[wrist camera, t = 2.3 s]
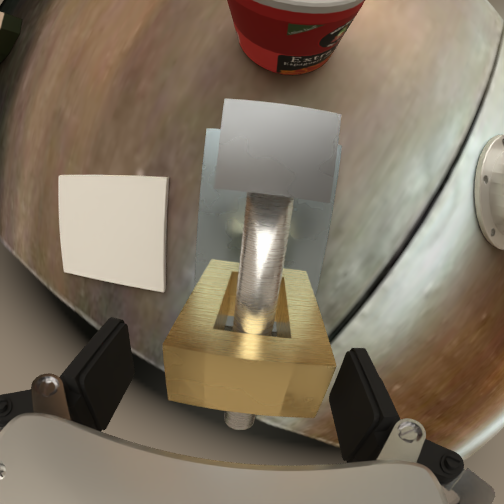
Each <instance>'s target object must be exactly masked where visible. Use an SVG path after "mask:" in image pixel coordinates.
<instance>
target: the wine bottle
mask: <svg viewBox="0 0 504 504" xmlns="http://www.w3.org/2000/svg"><path fill="white" fill-rule="evenodd" d="M21 24H22V19H19V18H17V17H14V16H11V15H8V14H5V13H2V12H0V63H1V62H2V61H3V60H4V58H5V57H6V56H7V55H8V54H9V52H10V51H11V49H12V47H13V45H14V43H15V41H16V40H17V38H18V36H19V34H20V29H21Z"/></svg>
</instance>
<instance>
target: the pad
mask: <svg viewBox="0 0 504 504" xmlns="http://www.w3.org/2000/svg"><path fill="white" fill-rule="evenodd" d="M168 190H169V177H154V176H129V175H60V176H59V225H60V239H61V250H62V259H63V268H64V272H67V273H71V274H75V275H80V276H84V277H88V278H93V279H98V280H102V281H107V282H112V283H117V284H122V285H127V286H132V287H137V288H142V289H148V290H153V291H159V292H165V290H166V230H167V206H168Z"/></svg>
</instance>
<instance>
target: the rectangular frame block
mask: <svg viewBox="0 0 504 504" xmlns="http://www.w3.org/2000/svg"><path fill="white" fill-rule="evenodd" d="M238 272H239V263H238V262H230V261H222V260H215V259H211V261H210V262H209V264H208V266H207V268H206V269H205V271H204V273H203V274H202V276H201V278H200V280H199V281H198V283H197V285H196V286H195V288H194V290H193V292H192V293H191V295H190V297H189V299H188V300H187V302H186V304H185V306H184V307H183V309H182V311H181V313H180V314H179V316H178V318H177V320H176V321H175V323H174V325H173V327H172V329H171V330H170V332H169V334H168V336H167V338H166V339H165V341H164V343H163V356H164V367H165V376H166V384H167V393H168V400H171V401H176V402H180V403H185V404H190V405H195V406H200V407H206V408H211V409H217V410H224V411H231V412H239V413H247V414H256V415H267V416H281V417H304V418H315V416H316V414H317V412H318V410H319V407H320V405H321V403H322V401H323V398H324V396H325V393H326V391H327V389H328V386H329V384H330V381H331V379H332V376H333V374H334V371H335V369H336V363H335V359H334V356H333V353H332V349H331V346H330V343H329V339H328V336H327V333H326V330H325V326H324V323H323V320H322V317H321V314H320V311H319V308H318V305H317V302H316V299H315V295H314V292H313V289H312V286H311V284H310V281H309V278H308V275H307V272H306V271H302V270H293V269H285V268H283V273H282V279H281V285H280V291H279V296H278V302H277V308H276V313H275V319H274V321H275V322H276V328H277V337H271V336H262V335H254V334H246V333H238V332H231V331H224V329H225V325H226V321H227V318H228V316H234V311H235V301H236V291H237V282H238Z"/></svg>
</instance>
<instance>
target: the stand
mask: <svg viewBox="0 0 504 504" xmlns="http://www.w3.org/2000/svg"><path fill="white" fill-rule="evenodd" d="M340 122H341V114H337V113H333V112H328V111H323V110H317V109H312V108H306V107H300V106H293V105H287V104H279V103H271V102H262V101H252V100H239V99H225V100H224V107H223V115H222V123H221V129H208V128H207V131H206V140H205V148H204V158H203V167H202V178H201V189H200V201H199V214H198V229H197V245H196V265H195V286H196V285H197V283H198V281H199V280H200V278H201V276H202V274H203V273H204V271H205V269H206V268H207V266H208V264H209V262H210V261H211V259H215V260H222V261H230V262H238V263H239V272H238V282H237V291H236V301H235V311H234V316H228V318H227V321H226V326H233V331H232V332H238V333H246V334H254V335H262V336H271V335H272V331H274V332H277V328H276V322H275V321H274V319H275V313H276V308H277V302H278V296H279V291H280V285H281V279H282V273H283V268H285V269H293V270H302V271H306V272H307V275H308V278H309V281H310V284H311V286H312V289H313V292H314V295H315V296H316V292H317V288H318V283H319V278H320V274H321V269H322V264H323V259H324V254H325V249H326V244H327V239H328V234H329V228H330V222H331V217H332V211H333V205H334V198H335V192H336V185H337V178H338V171H339V164H340V156H341V148H342V146H341V145H338V140H339V131H340ZM254 419H255V414H247V413H239V412H231V411H225V422H226V424H227V425H228V426H229V427H231V428H233V429H236V430H245V429H248V428H249V427H251V426H252V425H253V423H254Z"/></svg>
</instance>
